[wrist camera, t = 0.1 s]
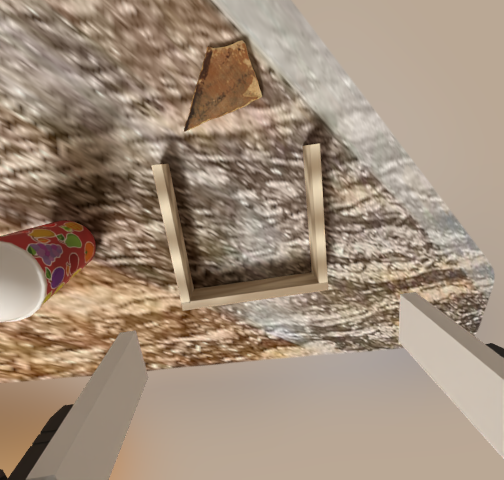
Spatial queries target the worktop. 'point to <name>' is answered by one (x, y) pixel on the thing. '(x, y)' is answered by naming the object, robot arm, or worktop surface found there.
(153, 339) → the worktop surface
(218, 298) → the box
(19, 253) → the smoothie
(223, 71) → the shard
